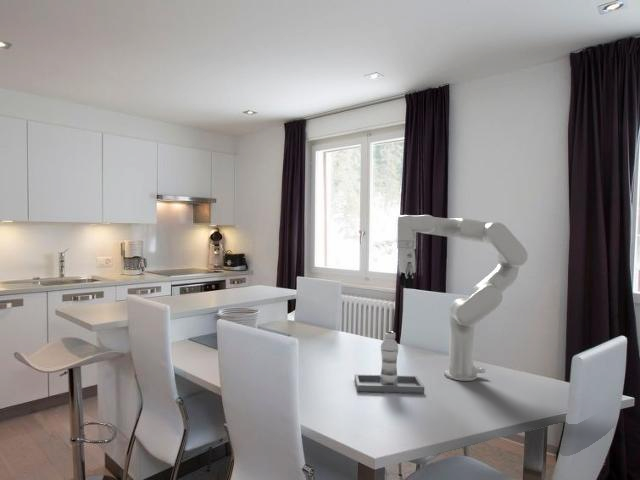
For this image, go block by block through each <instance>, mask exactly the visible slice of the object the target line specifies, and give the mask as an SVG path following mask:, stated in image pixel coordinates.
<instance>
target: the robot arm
mask: <svg viewBox="0 0 640 480" xmlns="http://www.w3.org/2000/svg"><path fill="white" fill-rule="evenodd" d="M417 233H421V234H426V235H435V236H440V237H446V238H447V237H448V238H452V239H457V240H464V241H470V242H479V243H484V244H485V243H486V244H491V245H492V246H493V248H494V249H495V250H496V251H497V260H498V261H497V266H496V267H495V269H494V270H493V271H492V272H490V274H488V275H487V276H486V277H485V278H483V279H482V280H481V281H480V282H478V283H476V285H474V287H473V288H472V290H471V296H470V297H468V298H464V297H463V298H462V297H460V298H457V299H456V298H455V299H454V300H453V301H452V303H451V304H450V307H449V345H448V349H449V350H448V368H447V369H445V370H444V376H445V377H447V378H449V379H451V380H456V381H463V382H472V381H475V380H476V379H478V373H479V374H486V368H485V367H483V368H482V367H480V366H474V358H475V357H474V352H475V349H474V348H475V326H476V325H478V324H479V323H480V322H482V321H483V320H484V319H485V318H487V317H488V316H489V315H491V313H493V312H494V311H495V310H496V309H497V308H499V306H500V305H501V303H502V301H503V297H504V296H503V293H504V292H505V291H506V290H507V289H508V288H510V286H512V285H513V284H514V283H515V281H516V280H517V277H518V274H519V270H520V267H521V266H523V265H525V264H526V262H527V261H528V257H529V256H528V255H529V254H528V251H527V249H526V248H525V246H524V245H523V244H522V243H521V242H520V241H519V240H518V238H517V237H516V236H515V234H513V232H512V231H511V230H510V229H509V228H508V226H507V225H505V224H503V222H499V221H494V222H493V221H484V220H477V219H476V220H475V219H471V218H470V219H469V218H462V217H459V218H457V217H456V218H447V217H446V218H445V217H435V216H432V215H430V214H422V215H413V214H412V215H411V214H408V215H407V214H403V215H400V216H398V217H397V237H396V239H397V240H396V241H397V244H396V245H397V247H396V248H397V249H398V250H399V251H398V271H399V272H398V273H399V274H398V275H399V277H398V278H399V279H398V282H399V283H398V285H399V286H404V289H414V274H415V273H416V272H417V271H416V268H417V267H416V251H415V250H417Z"/></svg>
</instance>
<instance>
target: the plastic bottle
mask: <svg viewBox="0 0 640 480" xmlns="http://www.w3.org/2000/svg"><path fill="white" fill-rule="evenodd" d="M384 338H385V339H384V340H383V341H382V342H381V344H380V353H381V354H380V355H381V369H380V374H379V375H380V383H381V385H397V383H398V376H397V375H398V368H397V367H398V366H397V363H398V362H397V361H398V354H399V350H400V349H399V344H398V342H397V341H396V340H395V339H396V332H394V331H385V333H384Z"/></svg>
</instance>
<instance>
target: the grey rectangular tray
mask: <svg viewBox="0 0 640 480" xmlns="http://www.w3.org/2000/svg"><path fill="white" fill-rule="evenodd" d="M397 376H398V383H397V385H381V383H380V374H356V373H355V374H354V385H355V388H356V393H364V394H365V393H367V394H368V393H369V394H399V395H401V394H407V395H425V386H424V384H423V383H422V382H421V380H420V379H419V377H418V376H417V375H399V374H397Z"/></svg>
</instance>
